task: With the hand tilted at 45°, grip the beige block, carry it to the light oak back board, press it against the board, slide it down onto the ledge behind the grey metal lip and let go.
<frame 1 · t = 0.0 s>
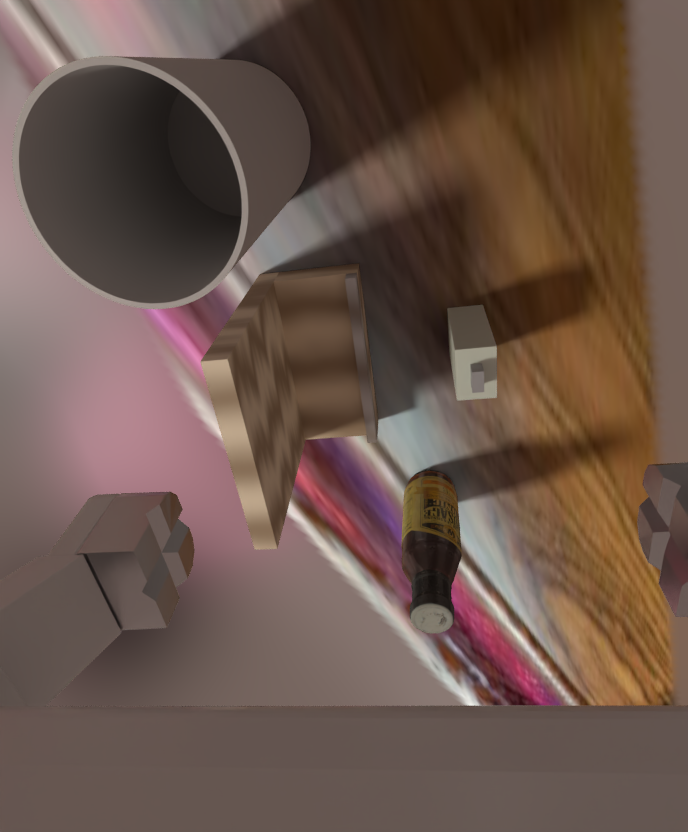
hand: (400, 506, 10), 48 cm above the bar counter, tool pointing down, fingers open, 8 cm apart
cylinder vase: (243, 141, 52), on the bar counter
beige block: (465, 329, 59), on the bar counter
back board shelf: (341, 349, 61), on the bar counter
sauce bottle: (428, 486, 70), on the bar counter
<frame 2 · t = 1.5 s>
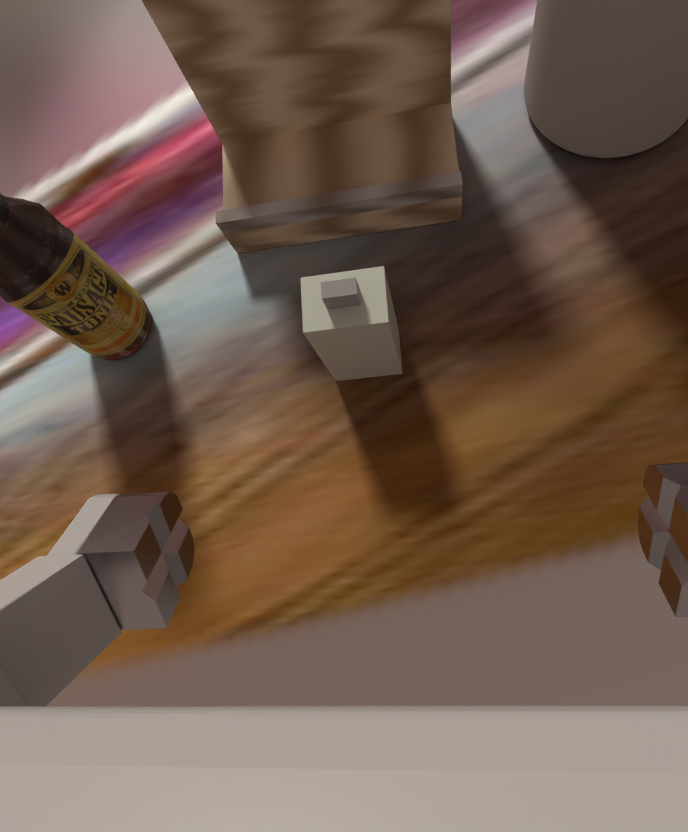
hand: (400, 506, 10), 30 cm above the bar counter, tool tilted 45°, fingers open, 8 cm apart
cylinder vase: (606, 94, 45), on the bar counter
beige block: (367, 355, 43), on the bar counter
back board shelf: (343, 203, 47), on the bar counter
sauce bottle: (123, 326, 48), on the bar counter
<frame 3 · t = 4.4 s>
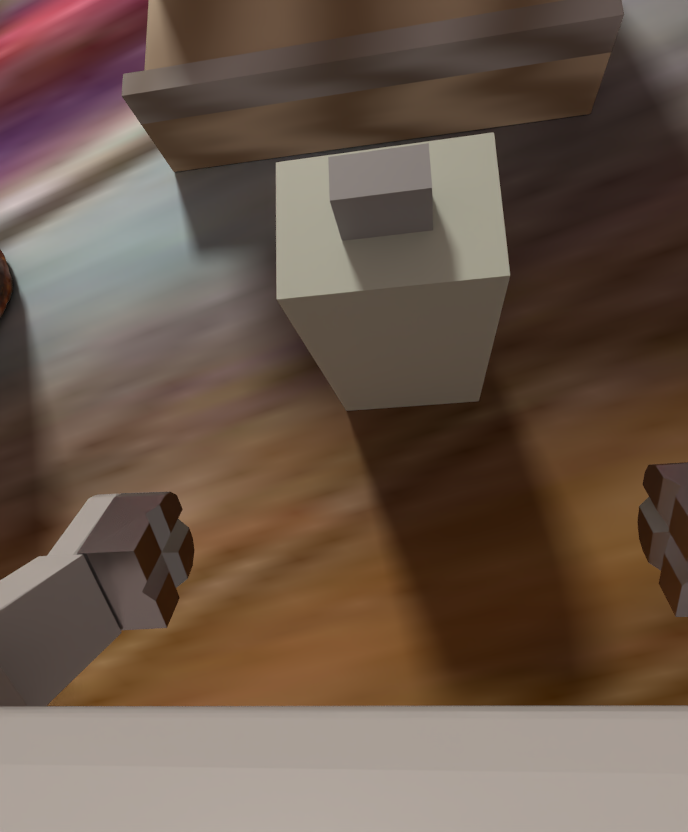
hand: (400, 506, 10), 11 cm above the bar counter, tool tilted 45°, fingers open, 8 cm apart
beige block: (408, 362, 22), on the bar counter
back board shelf: (368, 86, 26), on the bar counter
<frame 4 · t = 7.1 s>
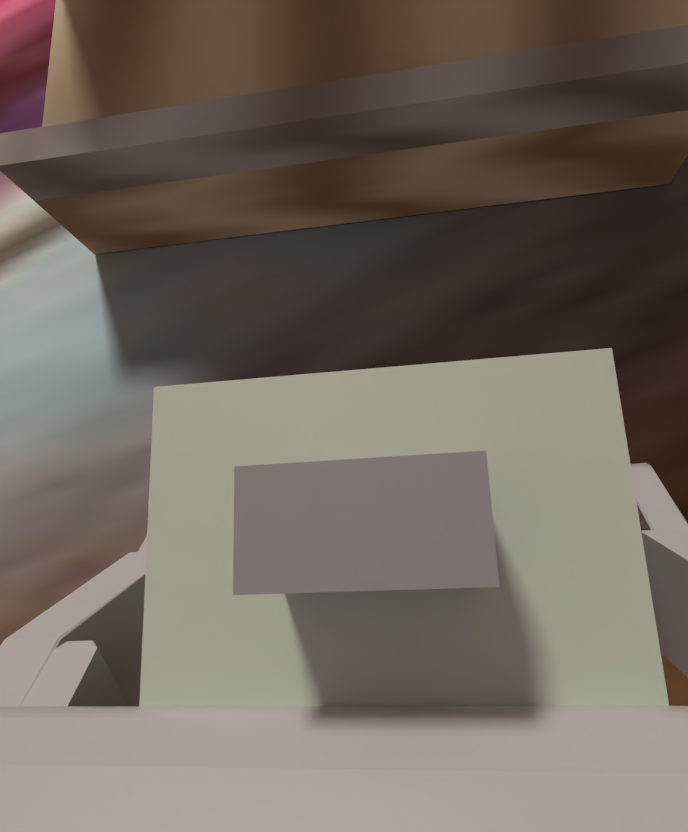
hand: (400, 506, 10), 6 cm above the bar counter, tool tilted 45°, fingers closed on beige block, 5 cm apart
beige block: (415, 549, 15), on the bar counter, touching gripper
back board shelf: (357, 139, 19), on the bar counter
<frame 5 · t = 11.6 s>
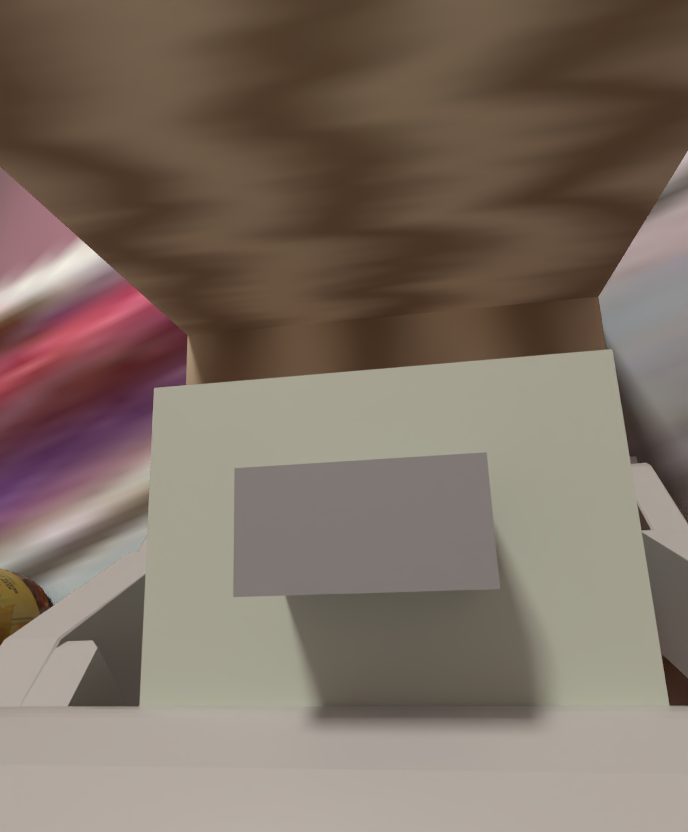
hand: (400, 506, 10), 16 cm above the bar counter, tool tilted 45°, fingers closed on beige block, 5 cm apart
beige block: (415, 549, 15), point 11 cm above the bar counter, touching gripper
back board shelf: (393, 442, 27), on the bar counter
sauce bottle: (10, 629, 28), on the bar counter
when the fingers open (10 cm above the bar counter, at t = 16.2 s): beige block stays where it is, resting on back board shelf.
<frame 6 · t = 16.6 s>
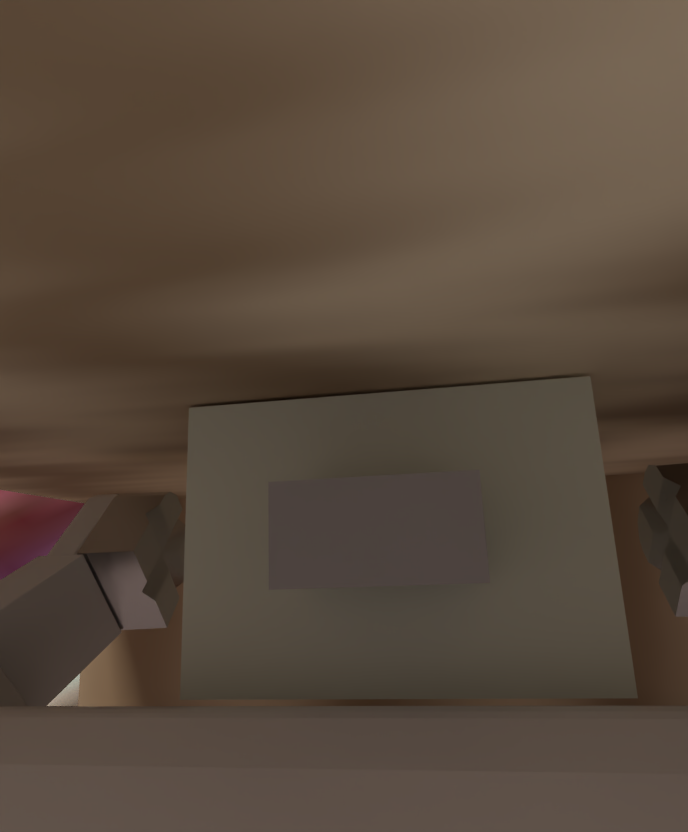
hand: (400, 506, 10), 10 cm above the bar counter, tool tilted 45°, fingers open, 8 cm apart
beige block: (417, 549, 16), point 3 cm above the bar counter, touching back board shelf
back board shelf: (394, 655, 19), on the bar counter
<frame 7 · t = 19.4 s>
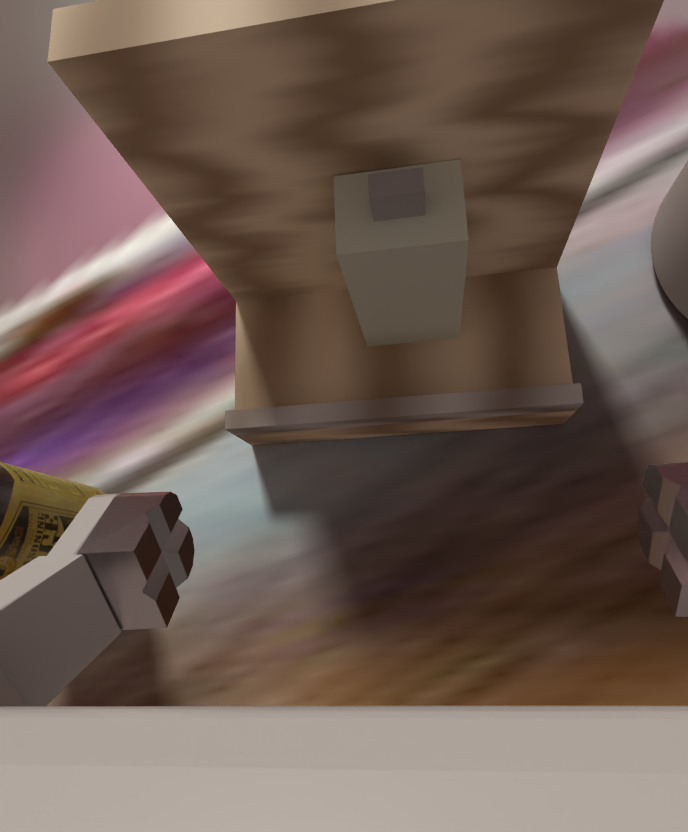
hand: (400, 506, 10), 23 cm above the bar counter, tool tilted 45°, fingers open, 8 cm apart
beige block: (410, 312, 32), point 3 cm above the bar counter, touching back board shelf
back board shelf: (398, 385, 34), on the bar counter
sauce bottle: (94, 537, 35), on the bar counter
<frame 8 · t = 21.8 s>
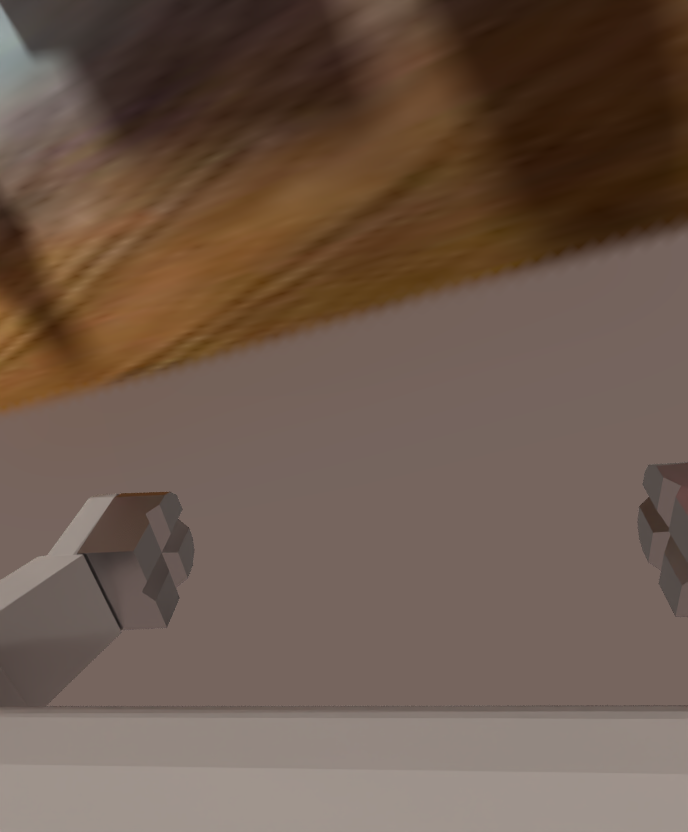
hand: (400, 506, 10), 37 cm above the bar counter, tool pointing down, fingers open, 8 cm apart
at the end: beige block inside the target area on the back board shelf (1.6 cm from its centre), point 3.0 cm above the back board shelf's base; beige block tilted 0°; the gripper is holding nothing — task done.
